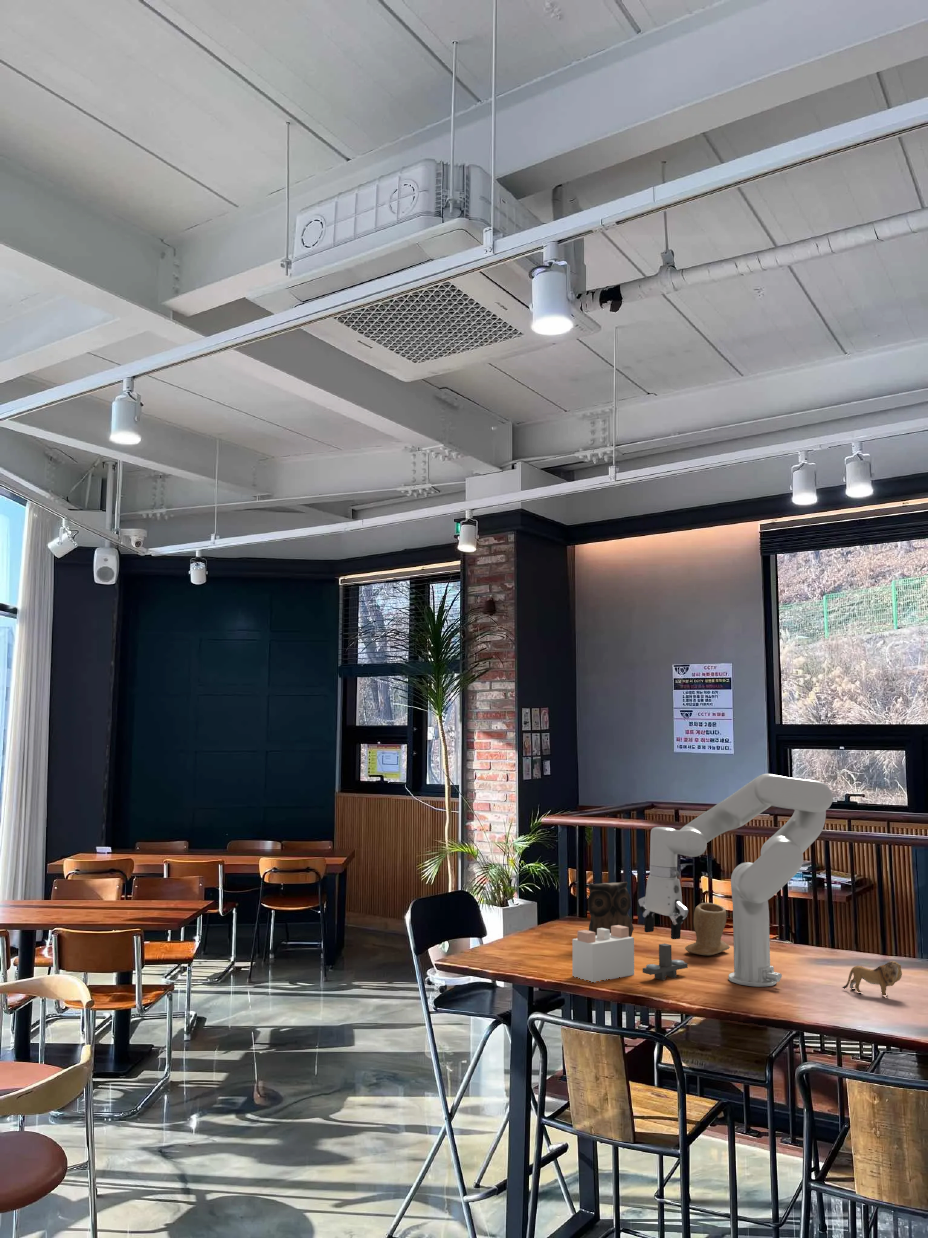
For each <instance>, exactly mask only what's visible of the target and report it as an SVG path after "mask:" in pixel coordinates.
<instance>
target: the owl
mask: <svg viewBox="0 0 928 1238" xmlns="http://www.w3.org/2000/svg"><path fill="white" fill-rule="evenodd" d="M627 886H628V882H627V881H623V882H622V881H620V882H603V883H589V884H588V890H589V891H588V892H589V895H588V897H587V910H588V912H589V914H590V915H589V916H590V921H589V925H588V931H592V932H595V936H596V935H597V929H598V928H605V929H609V930H610V933H611V926H615V925H621V926H625V927H629V937H633V931H634V930H635V928H634V925H633V924H632V923H633V919H632V918H631V916H630V915H629V910H630V909H631V907H632V899H631V894H630V893H629V891H628V888H627Z"/></svg>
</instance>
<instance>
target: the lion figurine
mask: <svg viewBox="0 0 928 1238" xmlns="http://www.w3.org/2000/svg"><path fill="white" fill-rule="evenodd" d="M852 975H853V978H852ZM902 976H903V971H902V965H901V964H900V963H898V962H897V961H893V960H891V961H888V962H886V963H885V964H882V965H879V966H877V967H876V968H874V969H871V968H867V967H864V966H862V965H861V966H860V965H856V966H853V967H852V968H851V969H850V971H849V975H848V979H847V982H846V984H845V985H844V986H842V987H841V988H844V989H843V990H845V988H846V989H847V988H848V986H849V989H850V988H855V991H856V992H857V991H858V992H862V990H860V984H861V983H862V980H864V981H865V982H867V983H868V984H871V985H878V986H880V989H881V990H880V993H881V992H882V993H881V996H882V995H886V993H887V992H886V991H887V987H893V986H894V985H895V984H896V983H897V982H899V981H900V980H901V979H902Z"/></svg>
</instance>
